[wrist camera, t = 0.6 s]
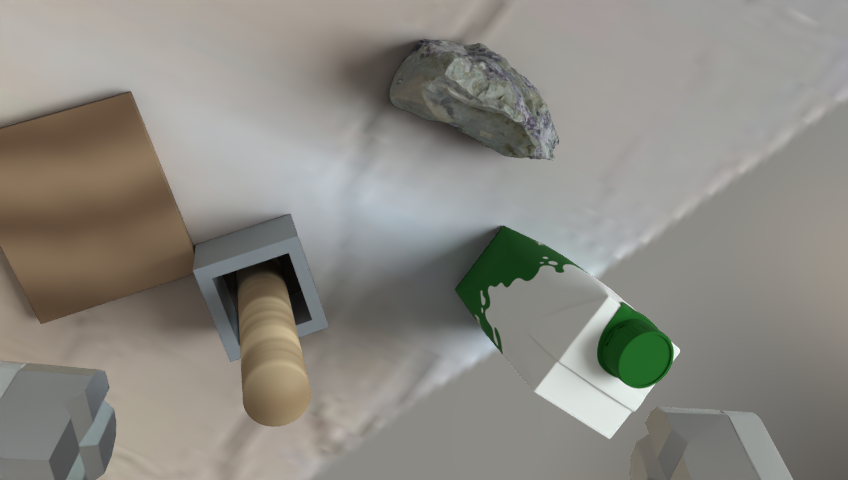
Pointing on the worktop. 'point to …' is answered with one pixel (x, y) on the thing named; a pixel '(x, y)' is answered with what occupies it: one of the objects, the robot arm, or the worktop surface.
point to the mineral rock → (475, 97)
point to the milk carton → (565, 331)
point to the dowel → (270, 347)
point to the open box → (245, 252)
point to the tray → (88, 208)
